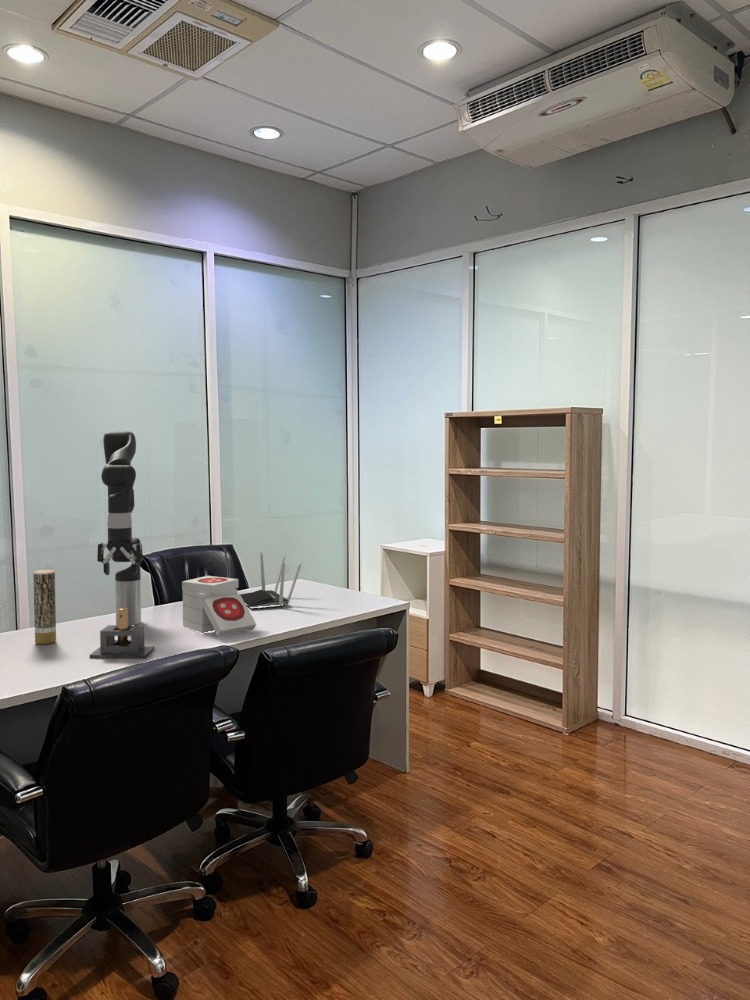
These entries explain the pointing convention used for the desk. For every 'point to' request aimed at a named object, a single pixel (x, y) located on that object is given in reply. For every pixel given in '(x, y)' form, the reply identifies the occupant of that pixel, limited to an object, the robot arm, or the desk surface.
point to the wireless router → (269, 596)
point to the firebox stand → (113, 650)
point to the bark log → (44, 606)
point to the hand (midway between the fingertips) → (120, 574)
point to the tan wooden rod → (122, 624)
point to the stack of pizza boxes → (215, 606)
